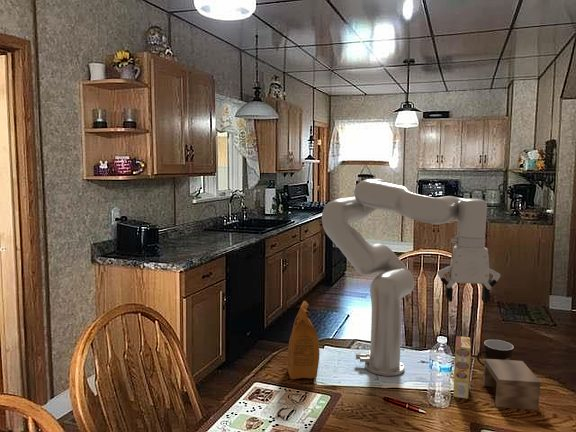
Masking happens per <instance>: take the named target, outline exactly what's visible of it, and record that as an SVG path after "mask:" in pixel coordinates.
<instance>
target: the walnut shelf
mask: <svg viewBox="0 0 576 432" xmlns="http://www.w3.org/2000/svg"><path fill="white" fill-rule="evenodd" d="M483 362H484V363H483V364H484V366H483V374H482V375H483V377H482V385H483V387H494V388H495V402H494V405H495V407H497V408H508V409H522V410H534V411H535V410H536V411H537V410H539V405H540V395H541V393H540V392H541V383H542V382H541V381H540V380H539V378H538V377H537V376H536V375H535V374H534V373H533V371H532V370H531V369H530V368H529V367H528V366H527V364H526V363H525V362H524V361H523V360H513V359H511V360H498V359H485V358H484V360H483Z"/></svg>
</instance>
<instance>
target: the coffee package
mask: <svg viewBox="0 0 576 432" xmlns="http://www.w3.org/2000/svg"><path fill="white" fill-rule="evenodd" d="M308 308H309V303H308V302H307V301H306V300H303V301H302V304H301V305H300V308H299V310H298V312H297V314H296V317H295V318H294V320H293V321H294V322H293V327H292V330H291V333H290V336H289V341H288V348H287V359H286V360H287V363H286V364H287V365H286V366H287V367H286V369H287V373H288V375H289V378H290V379H291V380H297V379H314V378H315V379H316V378H317V376H318V370H319V364H320V343H319V337H318V333H317V330H316V329H315V326H314V324H313V323H312V322H311V320H310V318H309V316H311V313H310V311H308V310H307V309H308Z"/></svg>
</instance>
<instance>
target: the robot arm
mask: <svg viewBox="0 0 576 432" xmlns="http://www.w3.org/2000/svg"><path fill="white" fill-rule="evenodd" d="M377 209H379V210H383V211H386V212H391V213H394V214H399V215H400V216H403V217H404V218H408V219H409V220H414V221H417V222H422V223H426V224H431V225H442V224H443V225H444V224H447V223H451V222H457V228H456V235H455V237H451V240H450V241H451V243H453V244H455V245H454V246H453V248H452V252H451V258H450V264H449V265H448V266H446V267H443V268H441V269H439V270H436V271H437V272H436V273H437V274H436V275H438V277H439V280H440V281H441V282H442V284H444V286H445V298H446V299H447V300H448V302H453V295H454V294H453V291H454V289H453V285H455V284H456V283H459V284H475V285H476V284H480V285H483V286H482V288H481V302H483V303H484V304H487V303H488V300H490V292H491V291H490V290H492V288H493V287H494V286H495V285H497V284H498V283H497V282H498V281H499V279H500V278H501V273H499V272H497V271H495V270H494V269H492V268H490V257H489V250H488V249H489V248H487V247H485V245H486V244H485V243H486V228H487V214H488V213H487V212H488V203H487V201H486V200H484V199H480V198H462V197H457V196H453V195H447V196H446V195H445V196H440V197H432V196H427V195H422V194H419V193H415V192H414V193H413V192H411V191H410V190H409V189H408V187H406V186H405V185H399V184H395V183H390V182H388V181H386V180H385V179H383V178H369V179H363V180H361V181H359V182H358V183H357V184H356V185H355V187H354V190H353V196H351V197H350V196H348V197H342V198H341V197H340V198H336V199H333V200H330V201H329V202H327V203H326V204H325V206H324V207H323V210H322V213H321V223H322V229H323V230H324V232H325V234H326V235H327V237H328V238H329V239H330V240H331V241H332V243H333V244H335V245H336V247H337V248H338V249H339V250H340V251H341V254H342V255H344V257H345V258H346V259H347V260H348V262H349V263H350V264H351V266H352V267H353V268H354V269H355V271H356V272H357V273H359V275H361V276H364V277H368V276H372V275H375V274H377V276H375V278H373V280H371V284H370V288H369V293H370V295H369V296H370V301H371V303H370V304H371V324H370V325H371V327H370V328H371V329H370V346H369V347H370V348H369V350H368V352H365V353H360V352H357V353H355V360H359V362H360V363H364V366H365V367H364V368H365V369H366V370H367V371H368V372H370V373H372V374H375V375H378V376H384V377H393V376H398V375H401V374H403V373H404V371H405V365H404V364H405V363H403V362H402V361H401V346H402V345H401V344H402V343H401V342H402V326H403V325H402V322H403V319H402V318H403V313H402V307H401V299H402V298H404V297H406V296H407V295H410V293H412V292H413V290H414V288H415V279H414V276H413V274H412V273H411V271H410V269H408V267H407V265H405V264H404V262H402V260H401V259H400V258H399V257H398V255H397V254H396V253H395V252H394V251H393V250H392V249H391V248H390V247H389V246H387V245H385V244H382V243H372V244H370V243H369V242H368V241H367V240H366V239H365V238H364V237H363V235H362V234H361V233H360V232H359V231H358V230H357V229H355V228H354V227H352V226H351V225H350V224H349V223H354V222H358V221H361V220H363V219H364V218H365V217H367V216H369V215H371V214H372V213H373V212H375V211H376V210H377ZM448 273H449V278H448V279H446V278H445V276H444V275H446V274H448ZM490 275H492V278H491V279H490Z"/></svg>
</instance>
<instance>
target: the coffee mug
mask: <svg viewBox="0 0 576 432" xmlns="http://www.w3.org/2000/svg"><path fill="white" fill-rule="evenodd" d="M514 347H515V346H514V345H513V344H512V343H510V342H507V341H505V340H500V339H487V340H485V341H484V342H483V348H484V350H481V351H479V352H478V353H477V355H476V359H477V360H476V361H477V362H478V363H479V364H480V365H481V366H483V367H484V363H483V362H482V361H481V360H480V356H481V355H482V354H483V353H484V360H485V359H498V360H512V358H513V352H514Z"/></svg>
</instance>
